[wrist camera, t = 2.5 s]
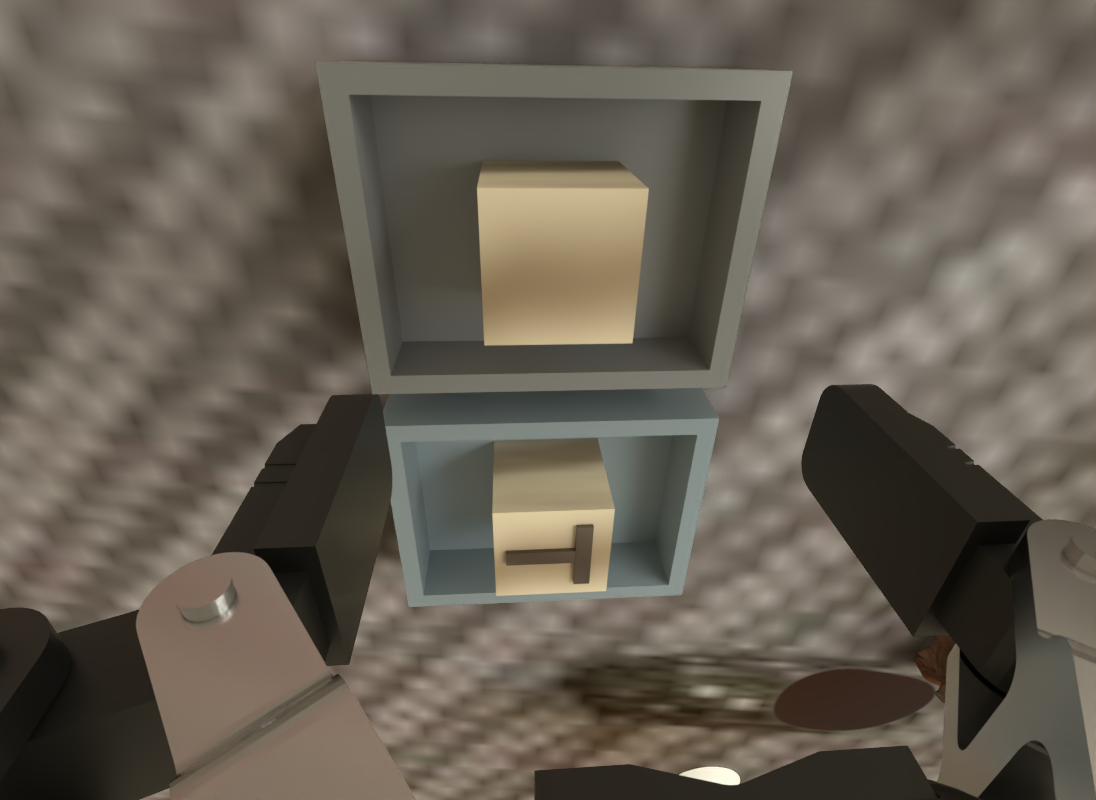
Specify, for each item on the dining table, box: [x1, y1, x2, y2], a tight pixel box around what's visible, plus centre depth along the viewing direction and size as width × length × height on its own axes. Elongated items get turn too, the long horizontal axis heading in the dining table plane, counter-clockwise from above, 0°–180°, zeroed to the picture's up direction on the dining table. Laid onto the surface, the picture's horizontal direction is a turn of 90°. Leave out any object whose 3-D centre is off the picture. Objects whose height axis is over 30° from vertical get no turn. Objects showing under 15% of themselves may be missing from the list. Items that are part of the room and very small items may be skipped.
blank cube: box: [477, 160, 649, 345], centre depth 20 cm, size 5×5×5 cm
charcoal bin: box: [315, 61, 793, 394], centre depth 21 cm, size 11×14×4 cm
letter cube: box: [492, 438, 615, 596], centre depth 26 cm, size 5×5×5 cm
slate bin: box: [383, 388, 719, 607], centre depth 27 cm, size 11×14×4 cm
